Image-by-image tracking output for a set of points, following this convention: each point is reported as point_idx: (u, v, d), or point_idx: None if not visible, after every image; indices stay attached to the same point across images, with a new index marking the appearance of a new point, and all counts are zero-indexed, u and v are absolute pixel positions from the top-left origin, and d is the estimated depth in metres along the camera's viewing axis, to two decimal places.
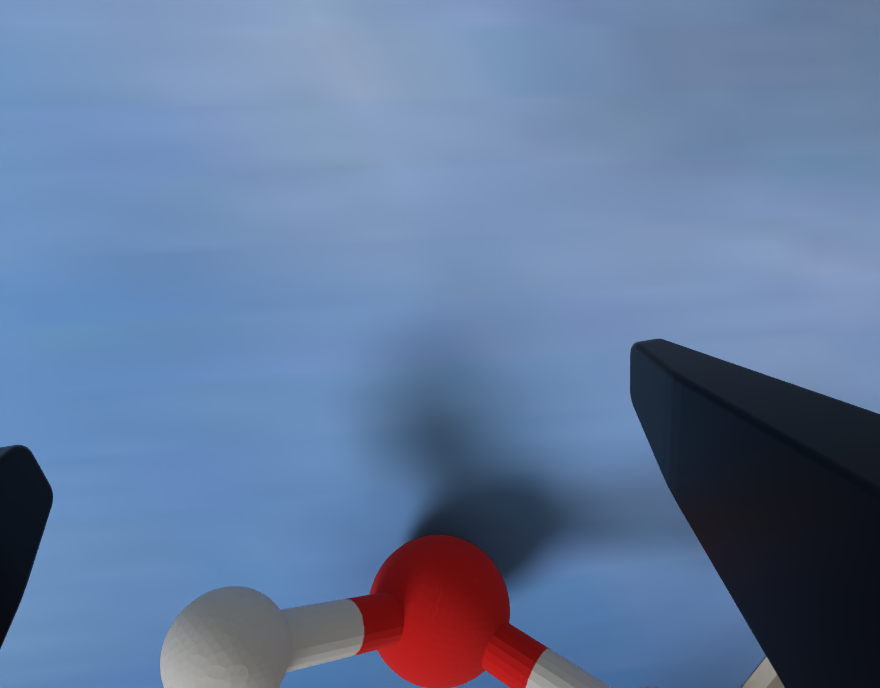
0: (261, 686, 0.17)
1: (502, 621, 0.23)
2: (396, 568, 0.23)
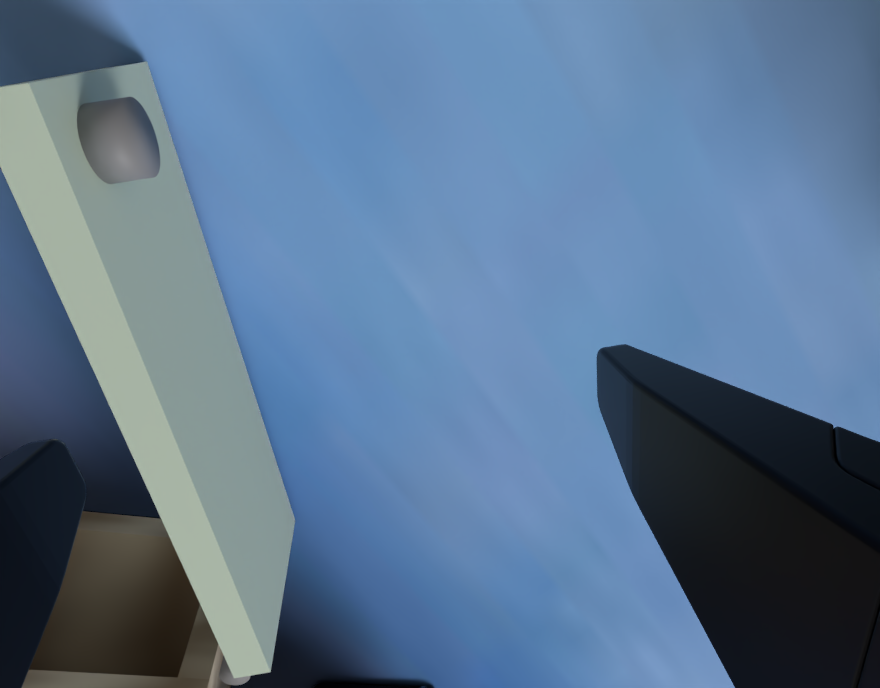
0: None
1: None
2: None
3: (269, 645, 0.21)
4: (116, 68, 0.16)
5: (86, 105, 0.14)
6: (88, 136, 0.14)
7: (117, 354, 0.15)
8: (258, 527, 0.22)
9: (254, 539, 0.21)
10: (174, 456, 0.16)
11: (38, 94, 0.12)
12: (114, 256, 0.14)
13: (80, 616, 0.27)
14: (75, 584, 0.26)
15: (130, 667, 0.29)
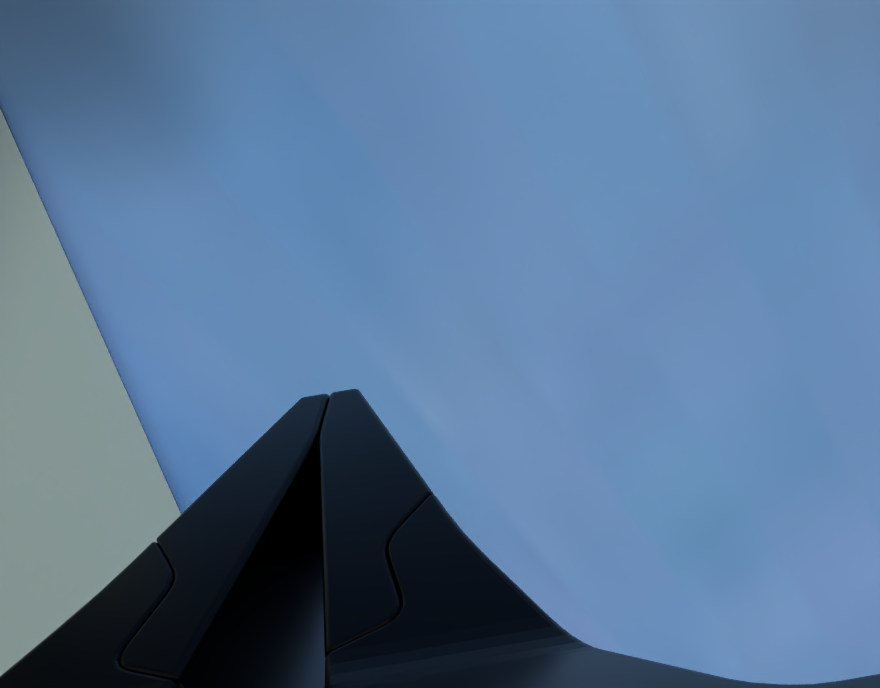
0: None
1: None
2: None
3: None
4: None
5: None
6: None
7: None
8: None
9: None
10: None
11: None
12: None
13: None
14: None
15: None
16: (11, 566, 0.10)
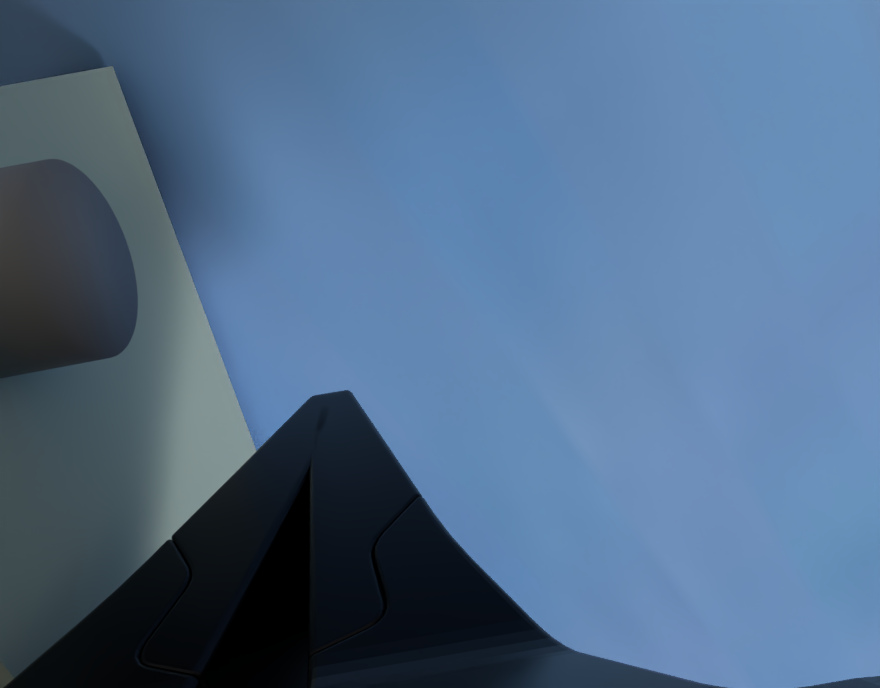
0: None
1: None
2: None
3: None
4: (36, 82, 0.07)
5: None
6: None
7: None
8: None
9: None
10: None
11: None
12: (19, 577, 0.05)
13: None
14: None
15: None
16: None
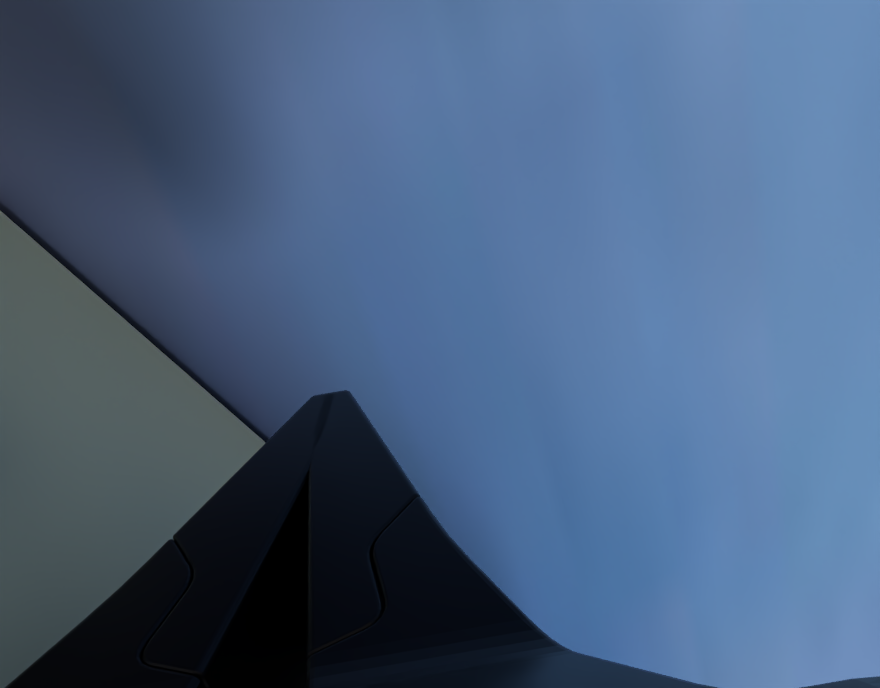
0: None
1: None
2: None
3: None
4: None
5: None
6: None
7: None
8: None
9: None
10: None
11: None
12: None
13: None
14: None
15: None
16: None
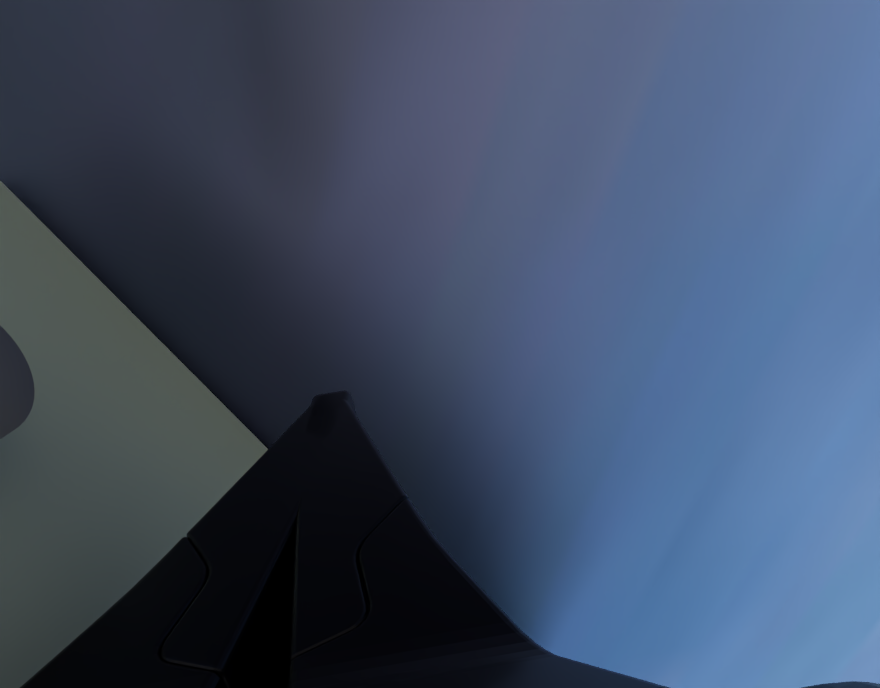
0: None
1: None
2: None
3: None
4: None
5: None
6: None
7: None
8: None
9: None
10: None
11: None
12: None
13: None
14: None
15: None
16: None
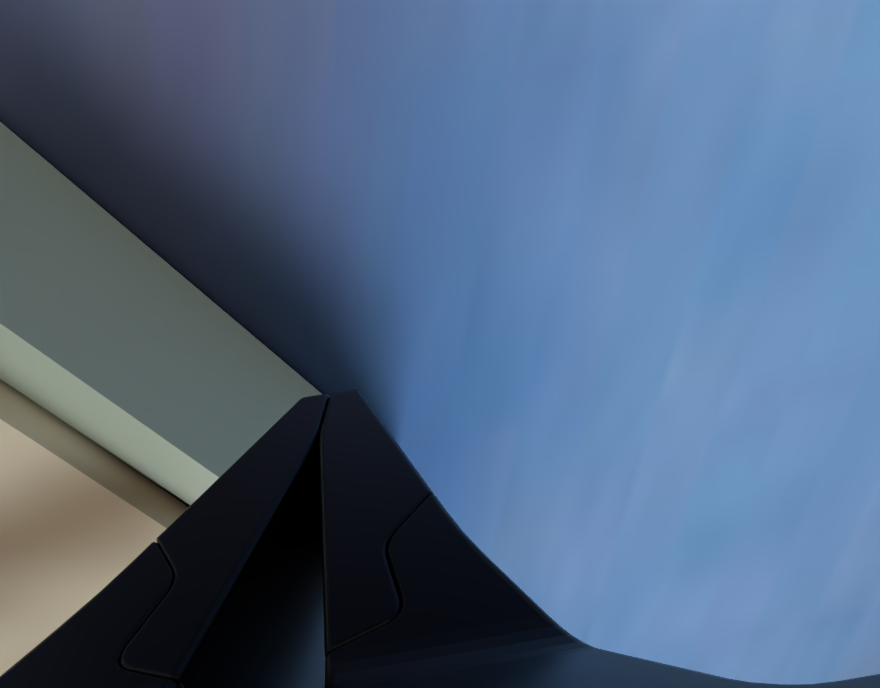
0: None
1: None
2: None
3: None
4: None
5: None
6: None
7: (18, 360, 0.14)
8: None
9: None
10: (147, 434, 0.15)
11: None
12: None
13: None
14: None
15: None
16: (95, 326, 0.15)
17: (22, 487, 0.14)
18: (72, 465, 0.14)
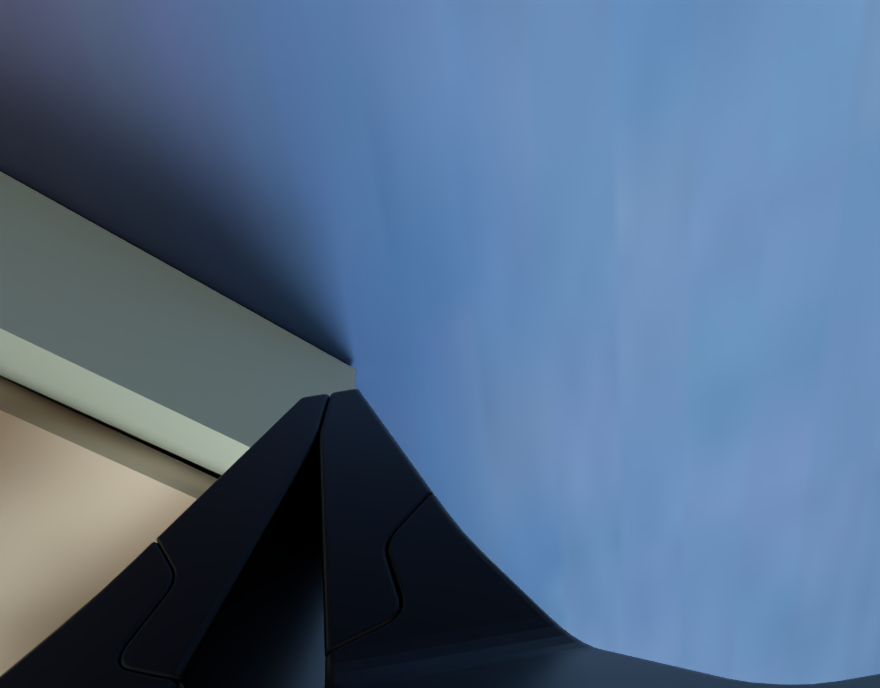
0: None
1: None
2: None
3: None
4: None
5: None
6: None
7: None
8: (257, 379, 0.19)
9: (250, 389, 0.18)
10: (11, 340, 0.14)
11: None
12: None
13: (82, 414, 0.22)
14: None
15: None
16: None
17: None
18: None
